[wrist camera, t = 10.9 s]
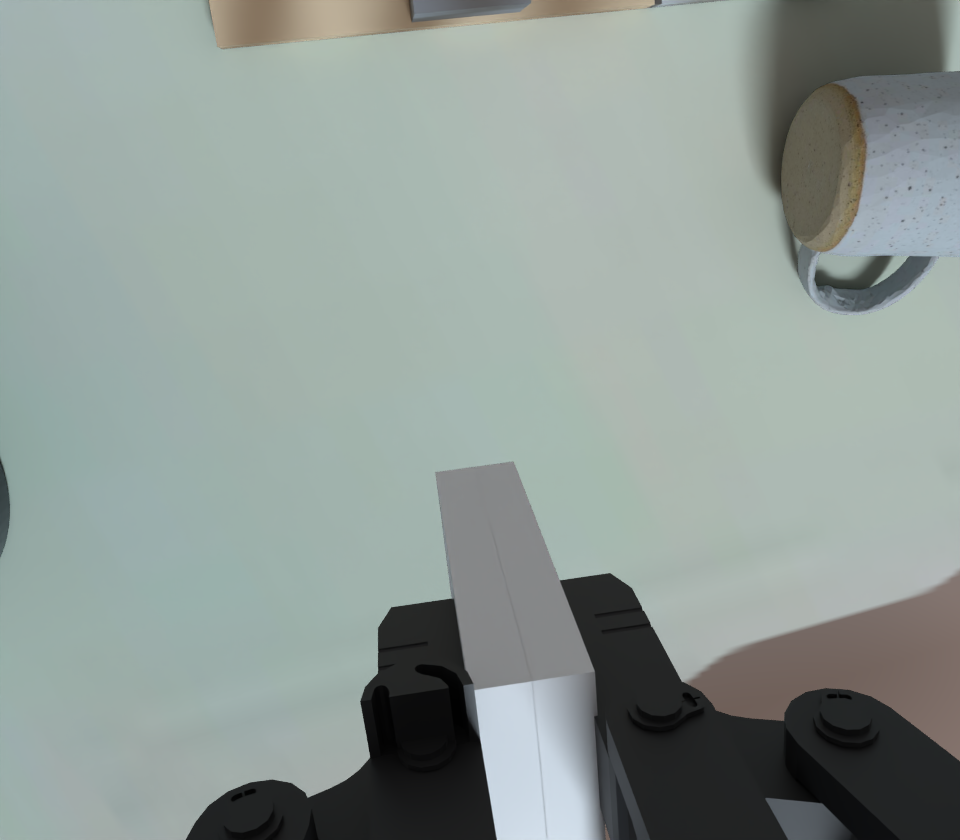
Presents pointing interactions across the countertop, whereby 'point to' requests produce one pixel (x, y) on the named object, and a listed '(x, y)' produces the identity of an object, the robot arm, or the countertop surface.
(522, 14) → the door board
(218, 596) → the countertop surface
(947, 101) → the ceramic mug
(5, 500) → the robot arm
